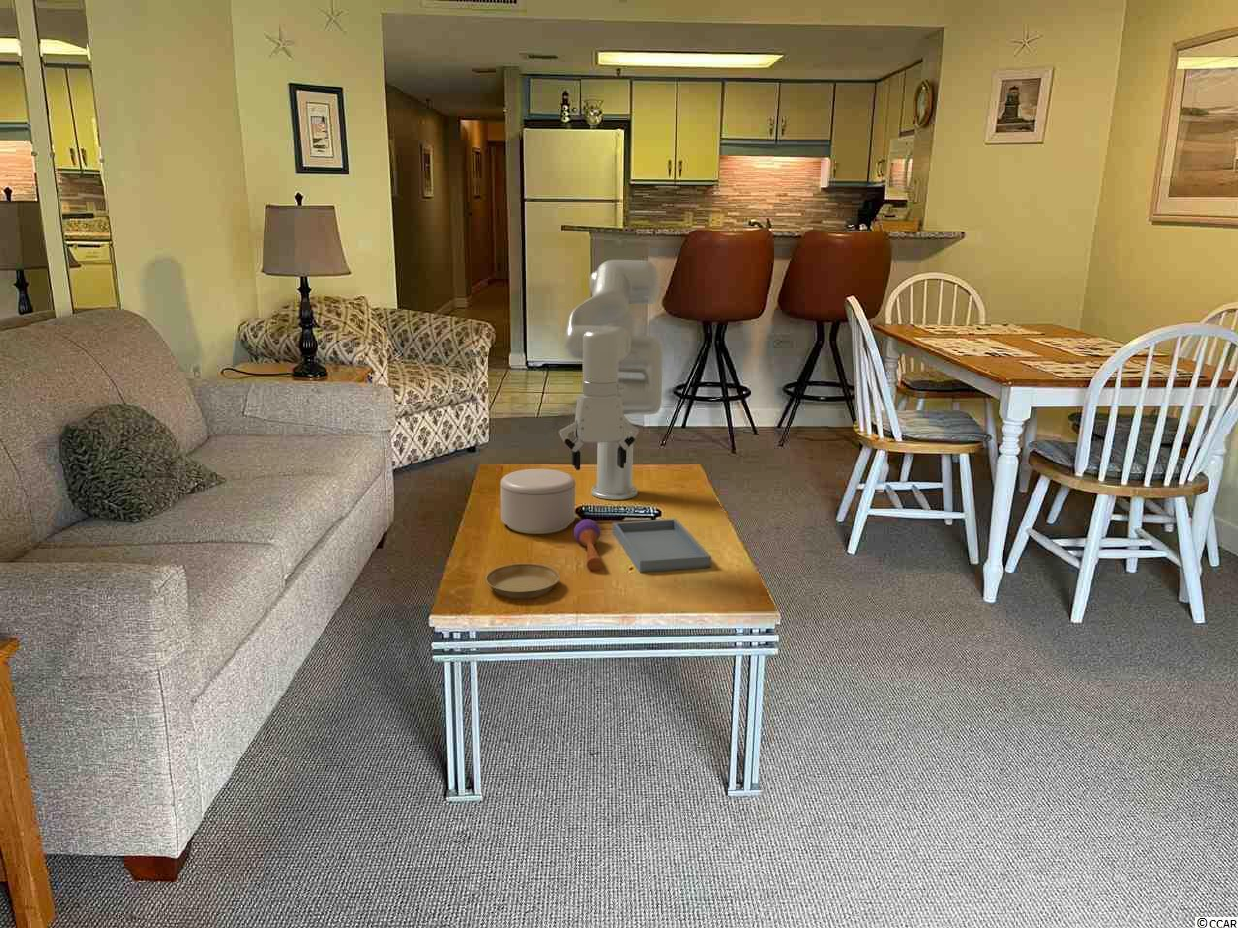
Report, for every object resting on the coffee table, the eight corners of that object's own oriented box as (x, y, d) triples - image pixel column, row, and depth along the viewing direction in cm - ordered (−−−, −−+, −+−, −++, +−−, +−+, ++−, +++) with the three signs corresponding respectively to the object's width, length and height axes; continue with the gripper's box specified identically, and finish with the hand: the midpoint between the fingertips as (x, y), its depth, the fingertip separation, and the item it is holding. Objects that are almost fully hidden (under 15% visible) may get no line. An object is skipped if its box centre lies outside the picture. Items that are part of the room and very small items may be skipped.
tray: (612, 533, 219) (612, 522, 218) (675, 529, 223) (676, 518, 222) (639, 572, 195) (640, 561, 194) (710, 567, 199) (710, 556, 198)
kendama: (578, 555, 194) (570, 517, 213) (583, 580, 196) (575, 541, 215) (606, 549, 194) (596, 512, 213) (610, 574, 196) (600, 536, 215)
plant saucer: (508, 609, 176) (508, 596, 176) (472, 584, 188) (472, 572, 187) (573, 592, 185) (573, 580, 184) (535, 569, 196) (535, 558, 196)
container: (490, 517, 229) (489, 471, 226) (557, 508, 237) (557, 464, 234) (516, 540, 213) (516, 491, 210) (587, 529, 221) (587, 482, 218)
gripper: (634, 385, 201) (632, 461, 206) (556, 387, 197) (556, 465, 201) (644, 391, 194) (642, 470, 198) (563, 393, 190) (562, 473, 194)
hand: (598, 467), depth 200 cm, fingers open, 9 cm apart
